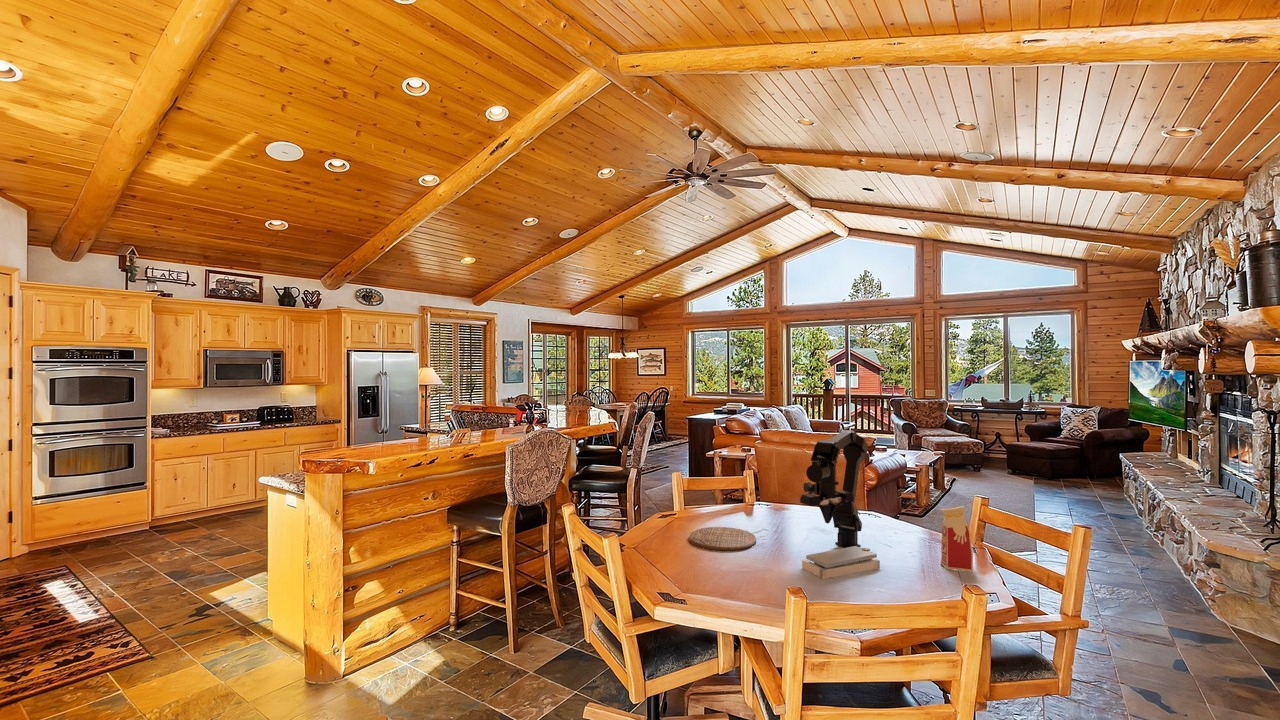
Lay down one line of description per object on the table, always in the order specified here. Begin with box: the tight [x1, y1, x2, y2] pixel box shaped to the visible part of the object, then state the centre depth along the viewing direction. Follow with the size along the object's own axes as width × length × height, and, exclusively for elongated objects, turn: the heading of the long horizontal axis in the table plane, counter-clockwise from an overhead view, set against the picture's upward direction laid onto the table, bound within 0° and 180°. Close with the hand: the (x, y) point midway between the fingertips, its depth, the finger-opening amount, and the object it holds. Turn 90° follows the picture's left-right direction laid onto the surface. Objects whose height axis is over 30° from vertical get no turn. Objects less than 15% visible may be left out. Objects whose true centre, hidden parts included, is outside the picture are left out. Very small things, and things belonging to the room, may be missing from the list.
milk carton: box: [940, 505, 974, 573], centre depth 189 cm, size 9×9×20 cm
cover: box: [805, 546, 878, 568], centre depth 187 cm, size 23×9×1 cm, turn 115°
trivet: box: [688, 526, 757, 552], centre depth 217 cm, size 25×25×2 cm
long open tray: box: [801, 558, 881, 580], centre depth 187 cm, size 23×10×3 cm, turn 112°
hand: (827, 523), depth 197 cm, fingers closed
